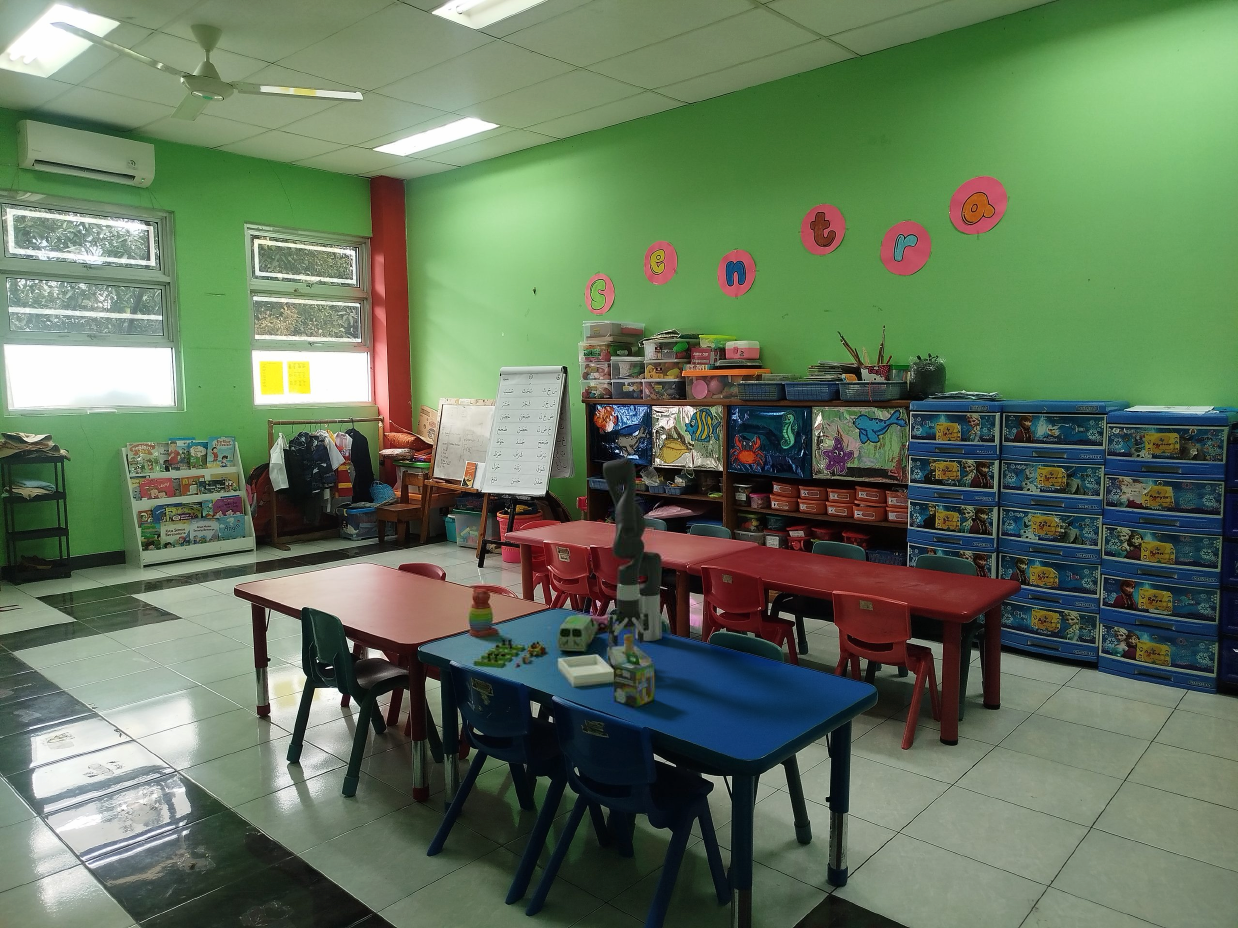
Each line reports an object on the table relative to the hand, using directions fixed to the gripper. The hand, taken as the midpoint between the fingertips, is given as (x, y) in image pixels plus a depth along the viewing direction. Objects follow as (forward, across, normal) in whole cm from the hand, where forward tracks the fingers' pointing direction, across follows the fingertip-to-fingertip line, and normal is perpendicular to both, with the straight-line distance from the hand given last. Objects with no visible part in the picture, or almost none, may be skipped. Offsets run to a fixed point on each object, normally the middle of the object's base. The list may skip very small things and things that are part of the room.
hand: (627, 644), depth 279 cm
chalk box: (+9, +8, +27) cm, 30 cm away
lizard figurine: (+10, -5, -53) cm, 54 cm away
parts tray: (+9, +15, 0) cm, 17 cm away
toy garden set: (+10, +34, -27) cm, 44 cm away
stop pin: (+9, 0, 0) cm, 9 cm away
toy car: (+9, +8, -35) cm, 37 cm away
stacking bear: (+9, +39, -61) cm, 73 cm away
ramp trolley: (+9, 0, 0) cm, 9 cm away
